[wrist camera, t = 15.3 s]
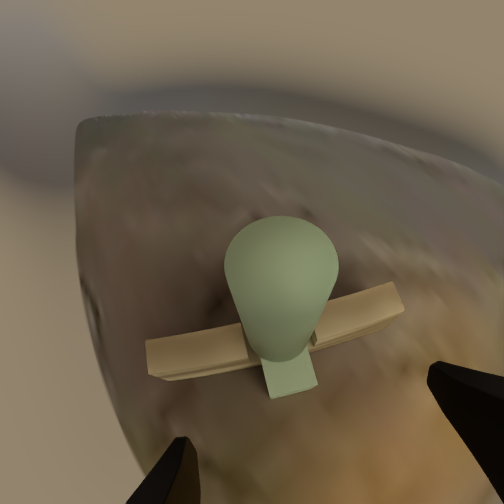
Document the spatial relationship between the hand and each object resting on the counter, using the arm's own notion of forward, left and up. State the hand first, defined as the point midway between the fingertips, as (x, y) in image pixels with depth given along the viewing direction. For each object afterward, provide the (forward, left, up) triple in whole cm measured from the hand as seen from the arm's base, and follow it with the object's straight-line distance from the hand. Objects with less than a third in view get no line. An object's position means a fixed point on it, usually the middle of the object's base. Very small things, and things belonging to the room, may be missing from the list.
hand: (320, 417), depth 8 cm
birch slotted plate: (+5, +1, -12) cm, 13 cm away
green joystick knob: (+5, +1, -12) cm, 13 cm away
